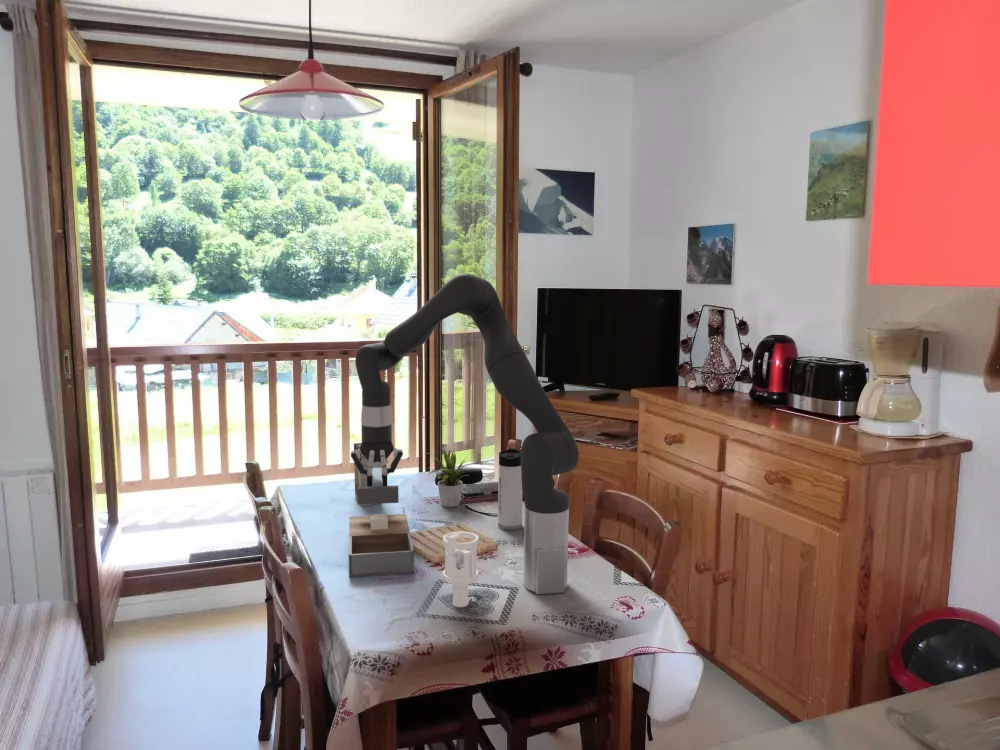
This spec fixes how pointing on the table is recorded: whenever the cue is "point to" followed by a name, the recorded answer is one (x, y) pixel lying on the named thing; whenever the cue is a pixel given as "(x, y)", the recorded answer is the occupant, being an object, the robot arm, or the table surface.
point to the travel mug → (510, 490)
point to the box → (381, 562)
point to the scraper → (377, 491)
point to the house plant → (449, 480)
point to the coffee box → (360, 478)
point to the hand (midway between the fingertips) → (377, 488)
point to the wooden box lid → (379, 535)
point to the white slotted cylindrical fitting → (460, 565)
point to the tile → (378, 521)
